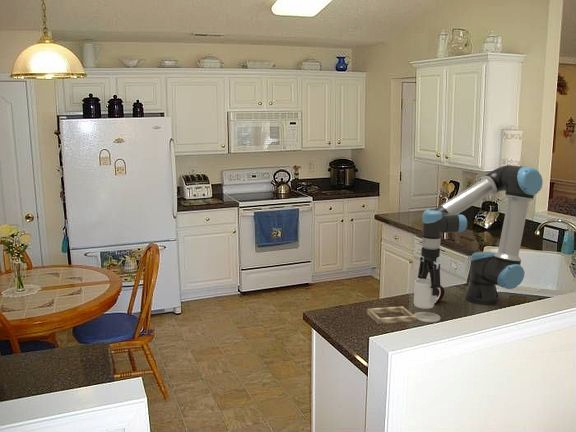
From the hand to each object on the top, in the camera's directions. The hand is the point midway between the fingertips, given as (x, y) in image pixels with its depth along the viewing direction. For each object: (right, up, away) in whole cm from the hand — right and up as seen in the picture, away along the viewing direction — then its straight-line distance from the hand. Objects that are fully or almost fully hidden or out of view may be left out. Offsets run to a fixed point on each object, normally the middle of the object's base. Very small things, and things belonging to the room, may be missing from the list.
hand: (427, 299), depth 234 cm
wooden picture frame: (-15, -8, +2) cm, 18 cm away
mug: (0, -3, +1) cm, 3 cm away
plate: (0, -8, +1) cm, 8 cm away
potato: (+8, -5, +22) cm, 24 cm away
